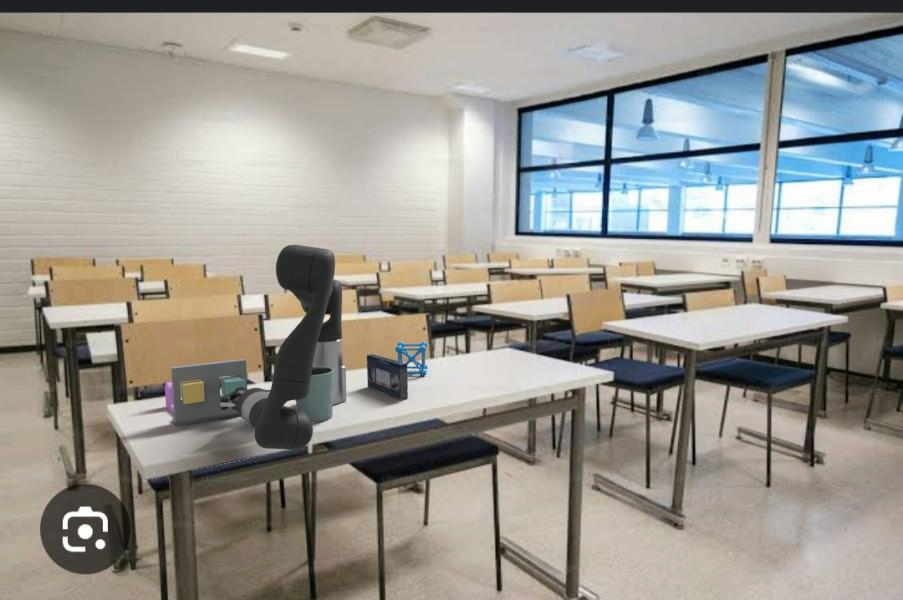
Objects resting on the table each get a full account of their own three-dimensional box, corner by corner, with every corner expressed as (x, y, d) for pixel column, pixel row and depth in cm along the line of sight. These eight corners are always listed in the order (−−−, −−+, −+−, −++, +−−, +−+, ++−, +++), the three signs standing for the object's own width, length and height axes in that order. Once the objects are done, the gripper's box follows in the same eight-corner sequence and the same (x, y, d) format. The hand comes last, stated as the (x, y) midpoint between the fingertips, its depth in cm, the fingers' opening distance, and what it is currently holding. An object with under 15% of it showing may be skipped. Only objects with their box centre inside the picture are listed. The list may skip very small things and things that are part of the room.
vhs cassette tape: (366, 387, 178) (366, 354, 177) (375, 385, 180) (375, 353, 179) (399, 400, 164) (398, 365, 162) (408, 399, 165) (408, 363, 164)
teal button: (239, 392, 150) (238, 374, 150) (246, 398, 145) (245, 379, 145) (220, 395, 148) (219, 377, 147) (226, 401, 143) (225, 382, 142)
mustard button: (199, 395, 148) (198, 377, 148) (204, 401, 143) (203, 382, 142) (179, 398, 145) (178, 379, 145) (183, 404, 140) (182, 385, 140)
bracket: (166, 407, 158) (164, 381, 158) (188, 403, 162) (186, 378, 161) (179, 418, 148) (178, 391, 148) (203, 414, 152) (201, 387, 151)
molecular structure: (426, 377, 191) (426, 346, 190) (395, 377, 191) (394, 346, 190) (427, 370, 201) (427, 340, 200) (398, 370, 201) (397, 340, 200)
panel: (243, 409, 155) (240, 356, 154) (248, 414, 151) (246, 360, 150) (172, 420, 146) (169, 364, 145) (175, 426, 142) (172, 368, 140)
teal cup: (342, 417, 148) (341, 370, 147) (306, 426, 141) (305, 377, 140) (321, 409, 155) (320, 364, 154) (285, 417, 149) (284, 370, 147)
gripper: (289, 387, 130) (266, 372, 144) (226, 396, 122) (209, 379, 137) (291, 420, 130) (268, 402, 145) (228, 432, 123) (210, 411, 138)
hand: (239, 391), depth 141 cm, fingers closed
